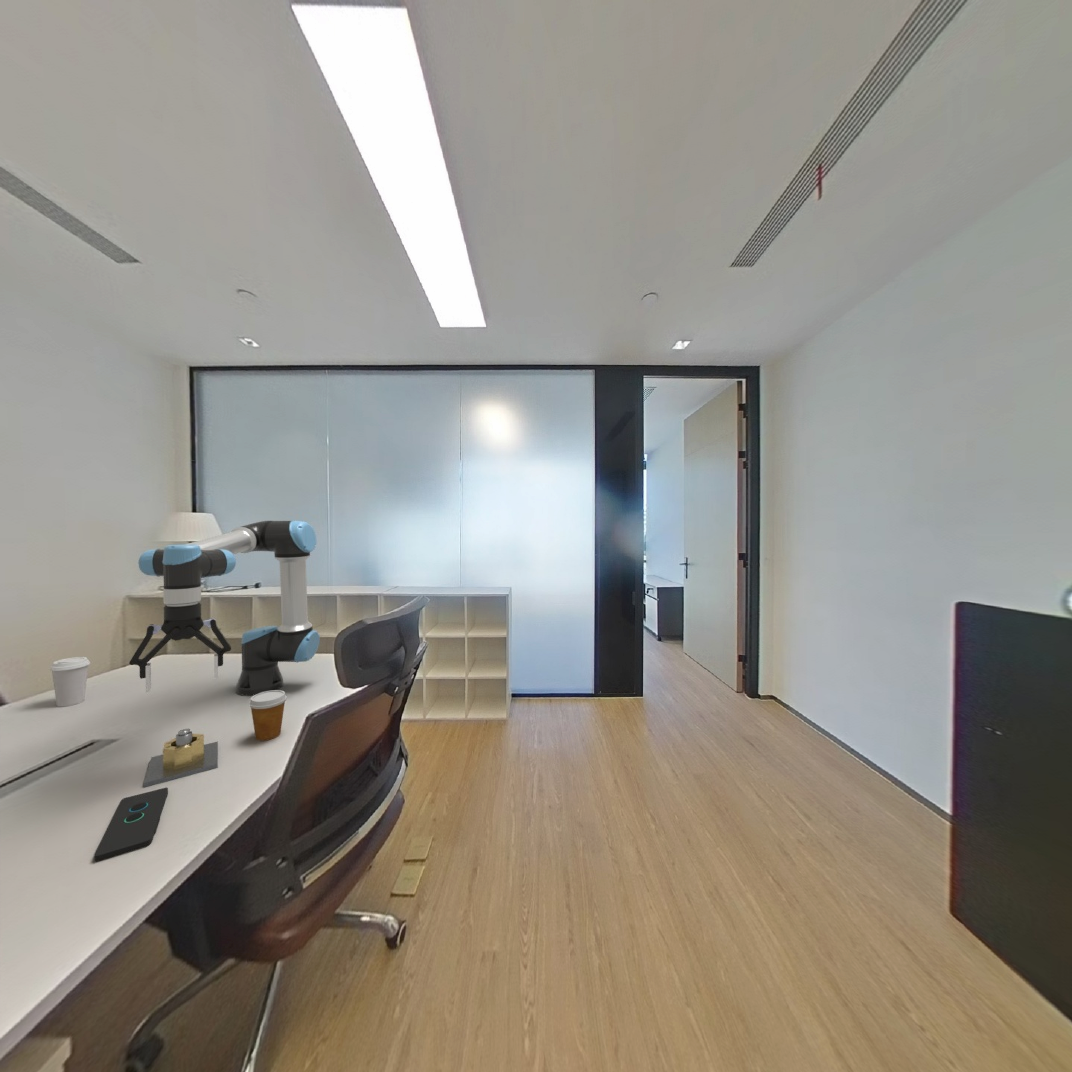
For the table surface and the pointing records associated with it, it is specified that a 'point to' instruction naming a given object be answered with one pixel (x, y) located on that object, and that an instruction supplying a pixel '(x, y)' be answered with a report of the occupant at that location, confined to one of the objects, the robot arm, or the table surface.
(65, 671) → the coffee cup
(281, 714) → the disposable coffee cup
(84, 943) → the table surface
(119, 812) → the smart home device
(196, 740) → the ring
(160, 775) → the metal peg stand
